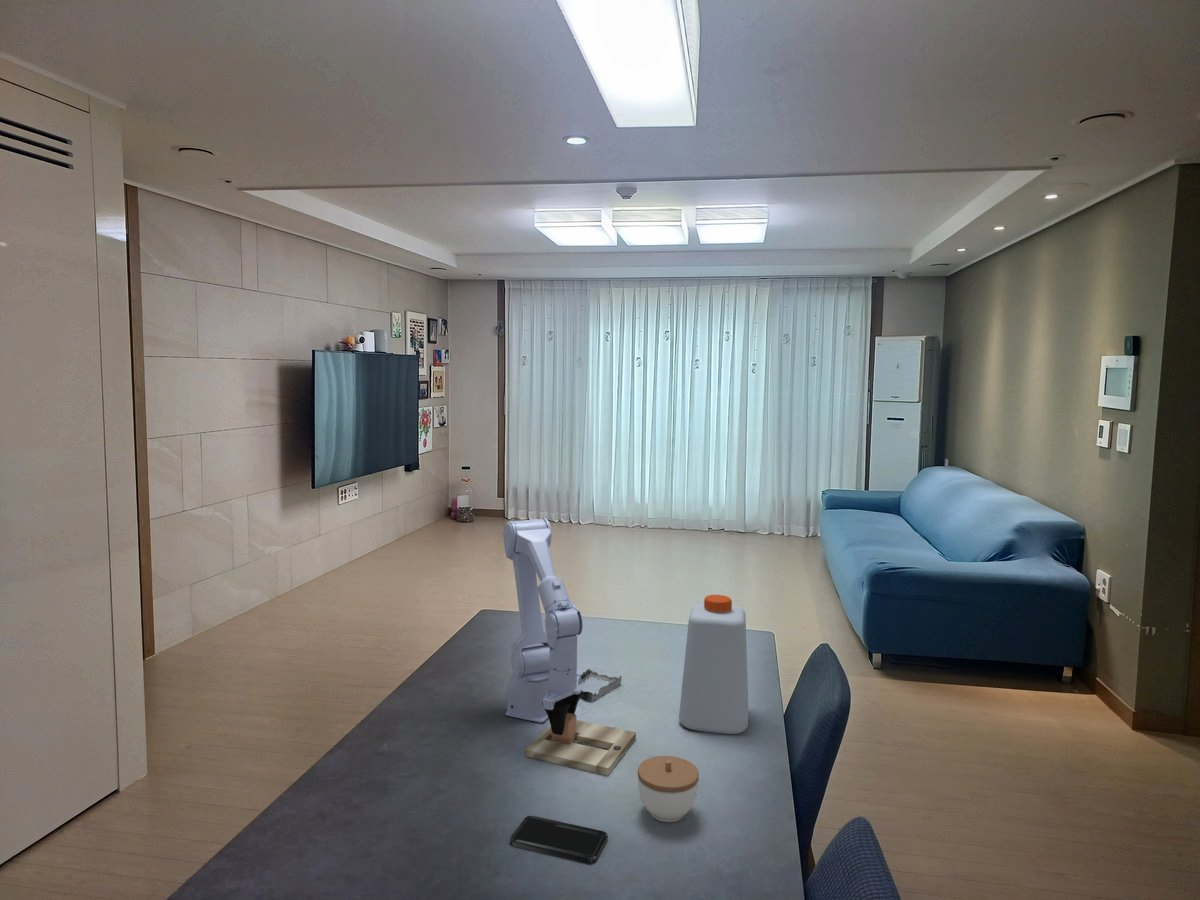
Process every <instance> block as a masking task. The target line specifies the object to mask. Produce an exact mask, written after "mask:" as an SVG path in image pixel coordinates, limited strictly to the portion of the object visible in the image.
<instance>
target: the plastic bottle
mask: <svg viewBox="0 0 1200 900" xmlns="http://www.w3.org/2000/svg"><path fill="white" fill-rule="evenodd" d="M732 604H733V600H732V599H731V598H730V597H729V596H727V595H722V594H709V595H706V596H705V597H704V601H703V603H695V604H694V605H693V606H692V608H691V610H690V612H689V613H690V614H689V616H688V624H687V632H686V643H685V651H684V653H685V654H684V661H683V662H684V663H683V664H684V665H683V673H682V683H681V693H680V703H679V713H678V714H679V715H678V720H679V722H680V723H681V725H682V726H683V727H684V728H687V729H689V730H691V731H695V732H696V731H697V732H698V731H699V732H706V733H716V734H725V735H739V734H741V733H743V732H745V731H746V730H747V728H748V725H749V712H750V711H749V709H750V708H749V688H748V687H749V684H748V683H749V681H748V680H749V679H748V652H747V624H746V623H747V622H746V621H747V619H746V612H745V610H744V609H743V607H740V606H737V605H732Z"/></svg>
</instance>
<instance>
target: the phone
mask: <svg viewBox="0 0 1200 900" xmlns="http://www.w3.org/2000/svg"><path fill="white" fill-rule="evenodd" d="M608 835H609V834H608V833H607V832H606V831H604V830H600V829H595V828H589V827H587V826H586V827H585V826H581V825H577V824H572V823H569V822H568V823H567V822H564V821H558V820H554V819H549V818H545V817H540V816H536V815H527V816H526V817H524V818H523V820H522V821H521V822H520V823H519V826H517V827H516V829H515V830H514V832H513V833H512V834H511V836H510V839H509V840H510V842H509V843H510V845H511V846H512V847H515V848H516V847H517V848H521V849H525V850H529V851H534V852H538V853H542V854H546V855H549V856H550V855H551V856H553V857H554V856H555V857H559V858H562V859H567V860H571V861H574V862H575V861H576V862H579V863H584V864H591V865H592V864H594V863H596V862H597V861H598V859H599V857H600V855H601V854H602V852H603V850H604V848H605V846H606V844H607V842H608V840H609V839H608V838H609V837H608Z"/></svg>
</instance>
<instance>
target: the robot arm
mask: <svg viewBox="0 0 1200 900" xmlns="http://www.w3.org/2000/svg"><path fill="white" fill-rule="evenodd" d="M503 527H504V529H503V533H502V536H503V537H502V538H503V545H504V547H503V548H504V552H505V555H506V559H509V560H511V561H512V565H513V571H514V579H515V587H516V595H517V603H518V612H519V613H518V614H519V621H520V628H521V632H520V634H519V635H518V636H517V637H516V638H515V640H514V641H513V642H512V643H511V647H510V648H511V656H510V665H511V669H512V673H511V674H510V676H509V679H508V681H507V686H506V687H507V688H506V689H507V690H506V691H507V695H506V696H507V697H506V699H507V700H506V703H507V705H506V706H507V707H506V708H507V709H506V712H505V716H508V717H511V718H512V717H513V718H516V719H519V720H520V719H521V720H525V721H531V722H534V723H535V722H536V723H541V724H543V723H545V722H546V721H547V720H548V722H549V726H550V725H551V729H552V733H553V734H557V735H562V734H563V731H564V725H565V718H566V714H567V713H571V714H576V710H577V706H578V703H579V701H580V699H581V698H580V697H581V695H582V691H583V689H582V687H580V686H578V685H579V684H580V683H581V674H579V673H578V672H577V671H578V636H579V635H581V634H582V632H583V628H584V627H583V625H584V624H583V617H582V614H581V610H580V609H579V608H578V606H576V605H575V603H574V602H571V600H570V596H569V593H568V591H567V588H566V585H565V583H564V581H563V578H560V577H558V576H557V575H556V571H555V567H554V563H553V559H552V555H551V551H550V546H551V543H552V533H553V531H552V526H551V523H550V521H549V520H548V519H547V518H545V517H543V518H542V517H541V518H538V519H537V518H536V519H527V520H526V519H524V520H508V521H506V523H505V525H504V526H503ZM538 579H539V585H538ZM540 601H541V602H540ZM541 604H542V608H543V610H544V613H545V615H546V616H545V618H544V619H545V620H544V626H543V619H542V609H541ZM544 627H545V629H544ZM536 644H537V645H536ZM538 644H541V645H538ZM530 645H532V646H530ZM533 645H534V646H533ZM526 646H529V647H526Z"/></svg>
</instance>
